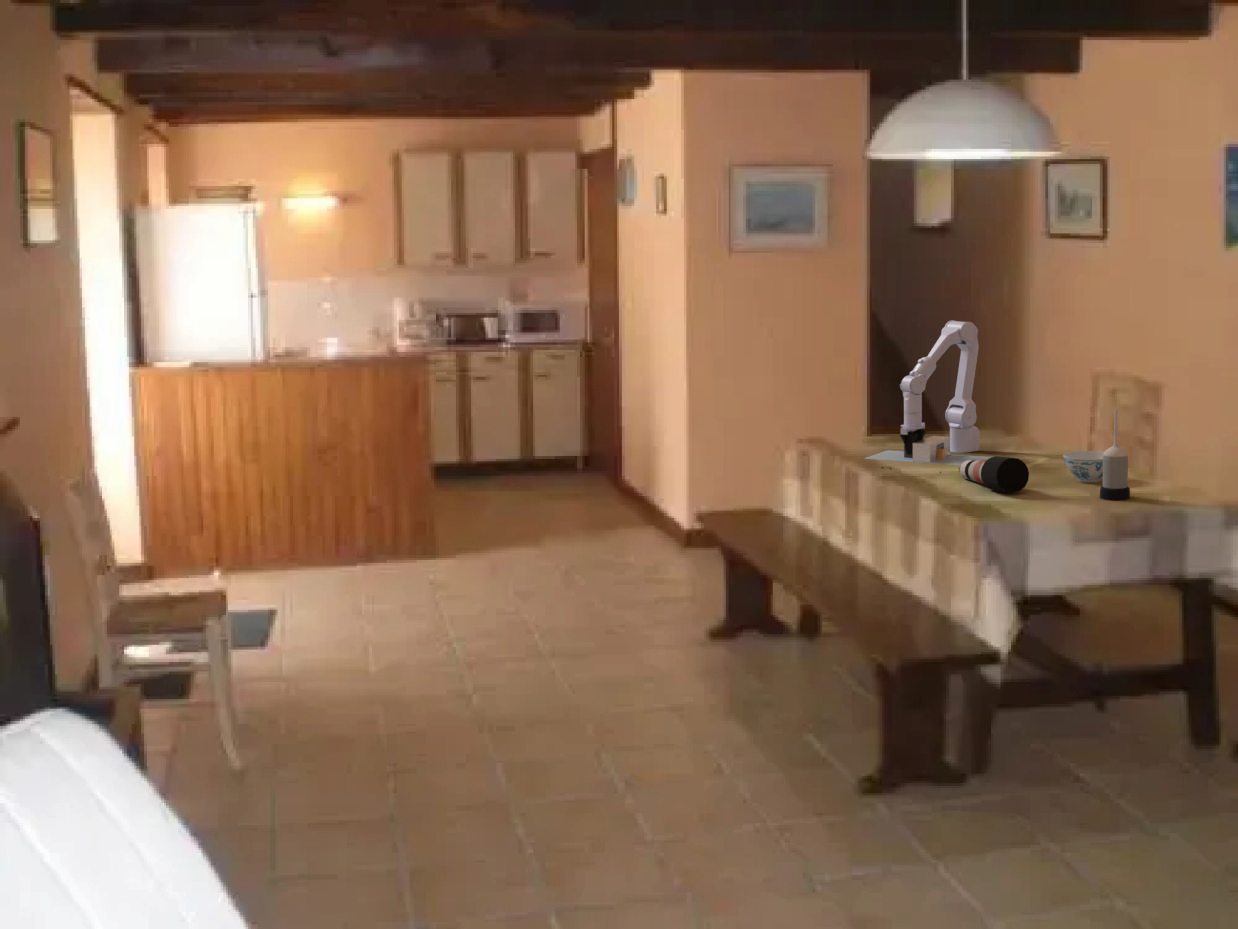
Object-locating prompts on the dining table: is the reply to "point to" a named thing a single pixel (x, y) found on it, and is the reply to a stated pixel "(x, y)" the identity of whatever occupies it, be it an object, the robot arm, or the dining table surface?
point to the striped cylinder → (997, 473)
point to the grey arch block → (930, 448)
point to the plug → (939, 454)
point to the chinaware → (1085, 465)
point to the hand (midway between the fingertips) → (913, 453)
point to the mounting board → (948, 460)
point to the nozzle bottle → (1115, 471)
